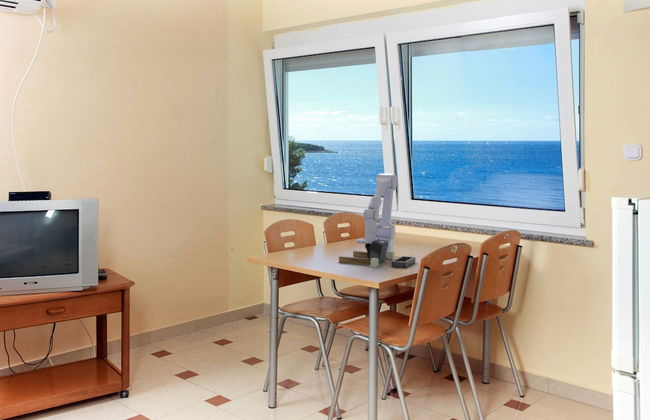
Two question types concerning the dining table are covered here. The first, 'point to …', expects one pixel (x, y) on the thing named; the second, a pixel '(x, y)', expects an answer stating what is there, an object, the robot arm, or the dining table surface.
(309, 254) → the dining table surface
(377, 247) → the small box
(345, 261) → the walnut tunnel rails
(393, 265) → the black pit tray
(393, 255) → the sage goal posts
